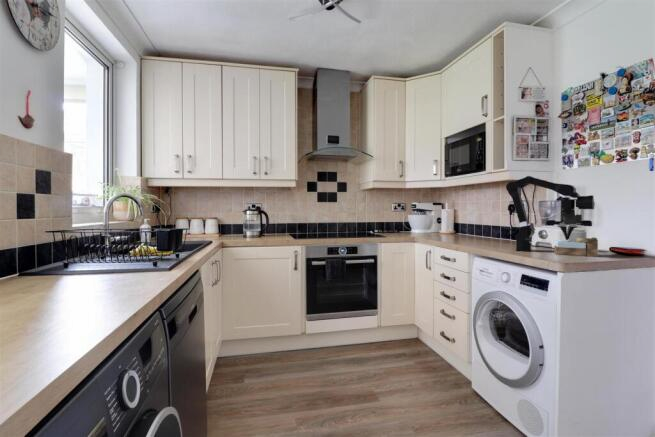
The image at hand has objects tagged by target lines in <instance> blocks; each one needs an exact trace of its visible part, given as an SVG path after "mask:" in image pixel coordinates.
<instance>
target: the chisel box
mask: <svg viewBox="0 0 655 437" xmlns="http://www.w3.org/2000/svg"><path fill="white" fill-rule="evenodd" d="M598 241H599V240H598V239H587V243H586V248H566V247H557V246H555V245H554V255H556V256H557V255H559V256H571V257H593V258H597V257H598V256H599V255H598V254H599V253H598V251H599V247H598V246H599V242H598ZM584 243H585V242H584Z"/></svg>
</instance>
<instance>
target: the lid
mask: <svg viewBox="0 0 655 437" xmlns="http://www.w3.org/2000/svg"><path fill="white" fill-rule="evenodd" d="M554 246H557V247H566V248H586V243H583V242H571V241H569V240H565V241H564V240H555V245H554Z"/></svg>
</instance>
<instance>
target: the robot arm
mask: <svg viewBox="0 0 655 437" xmlns="http://www.w3.org/2000/svg"><path fill="white" fill-rule="evenodd" d="M528 185H534V186H537V187H540V188H541V187H542V188H543V189H547V190H552V191H553V192H555V193H557V194H559V197H558V198H556V199H555V201H559V202H560V219H559V221H558V220H555V219H545V220H544V226H546V227H547V226H549V227H550V226H555V225H557V228H560V230H561V232H562V234H563V236H564V239H565V241H569V237H570V235H571V232H572V231H573V229H575V228H576V229H578V226H581V227H582V226H583V227H593V222H592V220H587V219H583V218H582V216H583V215H582V214H576V212H575V211H576V208H578V209H579V210H594V209H595V205H596V204H595V203H596V202H595V196H594V195H593V194H592V195H580V194H579V193H578V192H577V188H576V187H575V186H574V185H572V184H565V183H557V182H551V181H548V180H543V179H540V178H538V177H537V178H536V177H533V176H530V175H527V176H525V177H523V178H520V179H518V180H515V181H509V182H508V183H507V184H506V186H505V189H506V191H507V193H508V195H509V196H510V197H511V199H512V202H513V206H514V208H515V213H516V217H517V219H518V233H516V234H515V235H514V238H515V251H517V252H530V251H531V250H532V247H531V246H532V243H531V242H530V240H531V237H533V236H534V235H535V233H536V232H535V231H536V229H535V225H534V223H533V222H530V221H529V218H528V216H527V213H526V209H525V205H524V202H523V199H522V189H523V188H525V187H526V186H528ZM563 196H565V197H563ZM571 198H573V199H571ZM575 207H576V208H575ZM567 225H568V226H567Z"/></svg>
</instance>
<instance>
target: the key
mask: <svg viewBox="0 0 655 437" xmlns="http://www.w3.org/2000/svg"><path fill="white" fill-rule="evenodd" d="M587 239H597V237H591V238H589V237H586V238H576V242H585V243H587Z"/></svg>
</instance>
